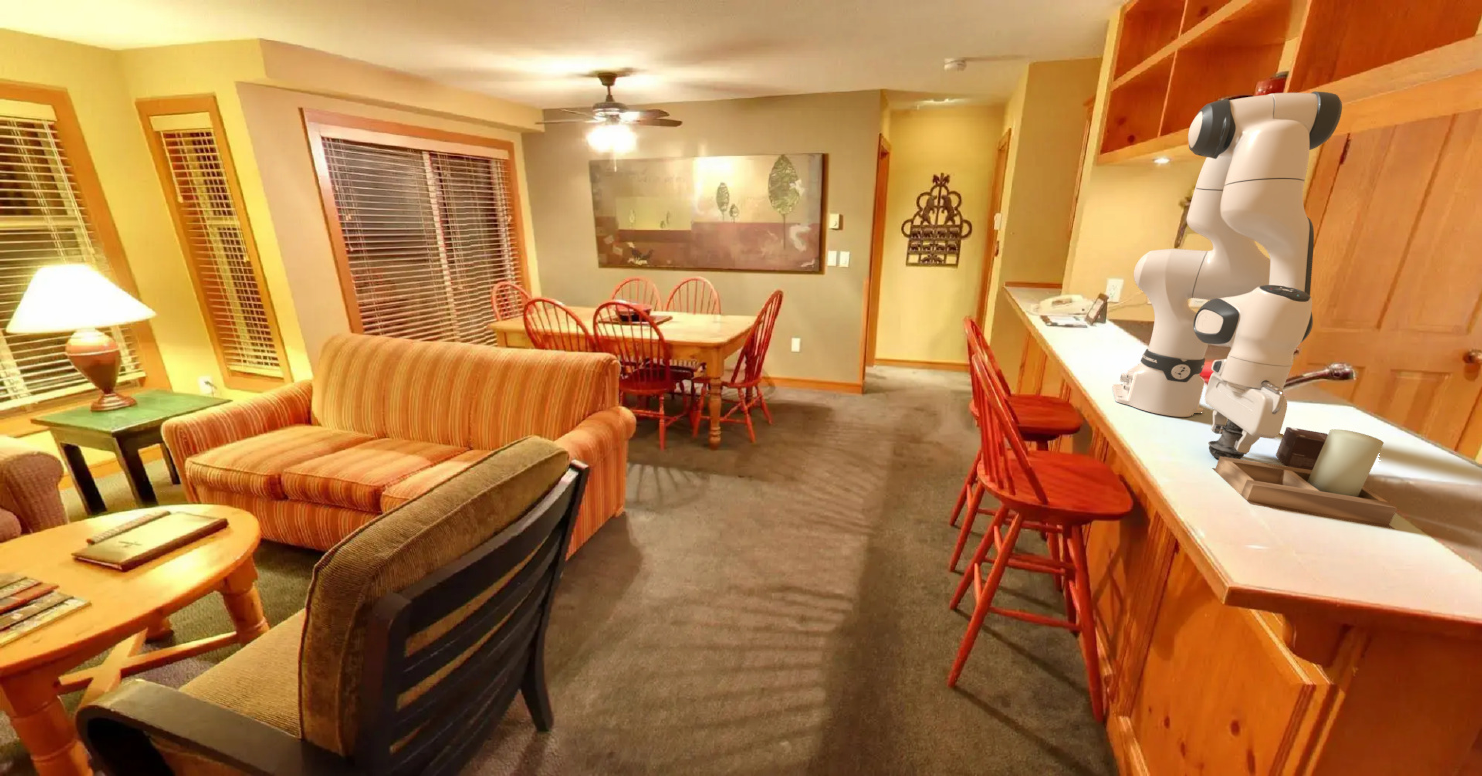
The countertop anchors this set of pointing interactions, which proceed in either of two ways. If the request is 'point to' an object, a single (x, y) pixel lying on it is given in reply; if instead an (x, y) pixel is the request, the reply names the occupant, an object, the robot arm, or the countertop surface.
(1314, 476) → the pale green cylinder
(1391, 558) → the countertop surface
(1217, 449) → the dark grey chess piece
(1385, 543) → the countertop surface
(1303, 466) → the box
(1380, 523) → the divided wooden tray
